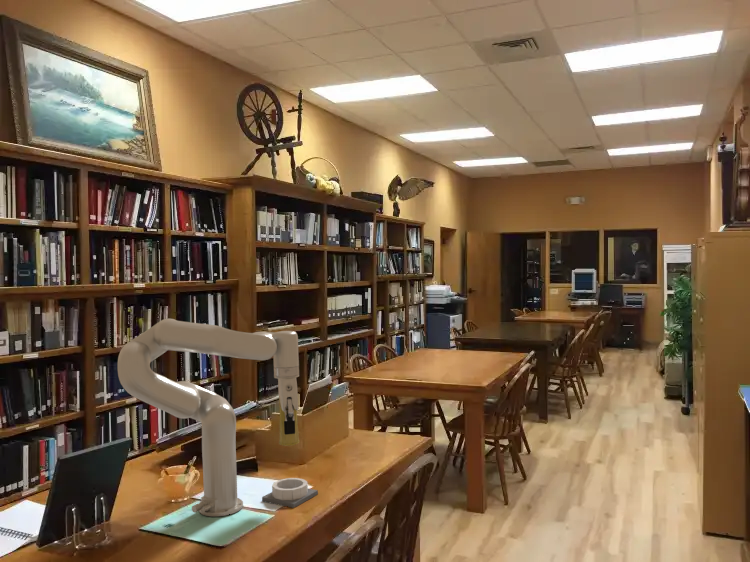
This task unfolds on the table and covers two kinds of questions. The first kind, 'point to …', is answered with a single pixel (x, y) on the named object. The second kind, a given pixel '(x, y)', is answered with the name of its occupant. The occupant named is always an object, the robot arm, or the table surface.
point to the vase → (289, 438)
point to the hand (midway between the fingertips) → (288, 430)
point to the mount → (290, 492)
